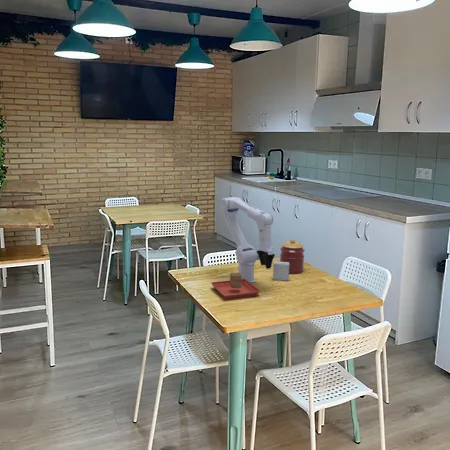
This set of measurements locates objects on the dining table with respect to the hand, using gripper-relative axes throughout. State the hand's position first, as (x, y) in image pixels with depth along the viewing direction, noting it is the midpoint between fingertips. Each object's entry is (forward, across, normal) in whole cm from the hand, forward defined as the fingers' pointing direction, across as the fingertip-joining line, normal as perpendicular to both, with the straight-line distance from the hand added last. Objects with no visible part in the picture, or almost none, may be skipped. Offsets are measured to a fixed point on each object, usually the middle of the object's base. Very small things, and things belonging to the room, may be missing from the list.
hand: (265, 266), depth 216 cm
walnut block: (+7, -3, +16) cm, 18 cm away
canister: (+10, +24, -23) cm, 35 cm away
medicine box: (+10, +12, -12) cm, 19 cm away
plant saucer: (+11, -2, +16) cm, 20 cm away
